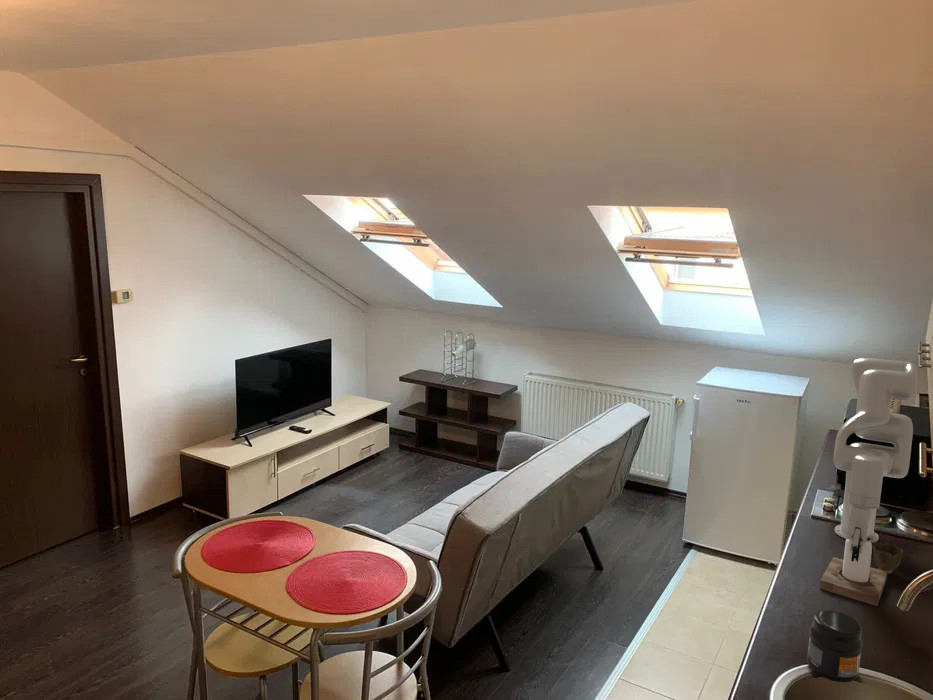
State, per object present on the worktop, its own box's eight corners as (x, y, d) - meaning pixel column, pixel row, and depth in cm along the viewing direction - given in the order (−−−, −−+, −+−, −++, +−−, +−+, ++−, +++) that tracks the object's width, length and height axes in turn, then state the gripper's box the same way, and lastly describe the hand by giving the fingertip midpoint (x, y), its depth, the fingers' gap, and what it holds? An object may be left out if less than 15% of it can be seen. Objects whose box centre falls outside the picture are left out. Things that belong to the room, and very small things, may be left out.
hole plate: (832, 564, 201) (833, 557, 200) (886, 580, 192) (887, 572, 192) (819, 588, 187) (820, 580, 187) (877, 606, 178) (878, 597, 178)
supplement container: (869, 682, 147) (876, 633, 145) (827, 687, 146) (833, 637, 143) (835, 653, 158) (841, 606, 156) (795, 657, 156) (801, 610, 154)
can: (873, 584, 185) (877, 542, 184) (849, 582, 185) (853, 540, 184) (860, 574, 191) (864, 533, 190) (837, 572, 191) (841, 532, 190)
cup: (874, 576, 194) (877, 550, 193) (867, 564, 201) (870, 540, 200) (903, 580, 192) (907, 554, 191) (894, 568, 199) (898, 543, 198)
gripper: (853, 487, 194) (846, 546, 197) (842, 504, 181) (835, 567, 184) (883, 494, 190) (876, 553, 193) (874, 512, 176) (866, 576, 179)
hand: (856, 559), depth 188 cm, fingers closed on can, 4 cm apart
